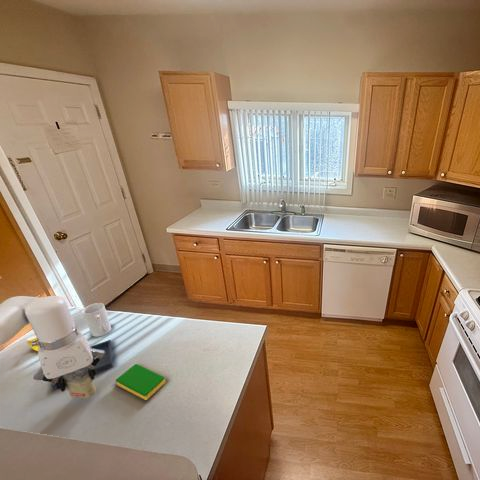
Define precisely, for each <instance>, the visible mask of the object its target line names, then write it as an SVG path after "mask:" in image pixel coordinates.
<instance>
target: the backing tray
mask: <svg viewBox="0 0 480 480" xmlns="http://www.w3.org/2000/svg"><path fill="white" fill-rule="evenodd" d="M90 346H91V348H93V349H98V350H103V351H105V355H104V356H103V357H102V358H101V359H100V361H99V362H98V363H97V364H96V366H95V368H96V370H97V374H99V373H101V372H103V371H106V370H108V369H111V368H113V366H114V362H113V343H112V340H111V339H108V340H105V341H103V342H99V343H97V344H94V345H90ZM92 356H93V359H94V358H95V357H96V355H92ZM82 369H85V372H88V368H87V367H84V368H81V369H78V370H82ZM62 376H63V377H64V375H62ZM51 387H52V389H53V391H55V390H58V389H57V387H56V385H55V384H53V383H52V382H51Z"/></svg>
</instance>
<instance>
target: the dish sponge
mask: <svg viewBox="0 0 480 480" xmlns="http://www.w3.org/2000/svg"><path fill="white" fill-rule="evenodd" d="M115 382H116V385H117V386H118V387H120V388H122V389H124V390H125V391H127V392H129V393H131V394H133V395H135V396H137V397H138V398H141V399H143V400H145V401H147V400H149V399H150V398H151V397H152V396H153V395H154V394H155V393H156V392H157V391H158V390H159V389H161V387H162V386H163V385H165V383H166V379H165V376H163V375H161V374H158V373H157V372H155V371H152V370H150V369H149V368H146V367H144V366H142V365H140V364H138V363H135V364H133V365H132V366H131V367H130V368H128V369H127V370H126V371H125V372H123V373H122V374H121V375H119V376H118V377H117V378H115Z"/></svg>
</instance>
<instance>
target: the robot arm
mask: <svg viewBox="0 0 480 480" xmlns="http://www.w3.org/2000/svg"><path fill="white" fill-rule="evenodd" d="M27 325H30V327H31V329H32V331H33V333H34V335H36V337H37V340H35V341H33V342H31V345H32V347H33V346H40V347H39V349H38V351H37V354H38V359H39V363H40V368H39V369H38V370H37V371H36V372H35V373H34V375H33V378H32V379H33V380H34V381H43V382H48V383H51V384H52V383H53V384H55V385H56V387H57V389H56V390H60V392H61V393H62V392H65V391H66V389H67V387H66V385H65V382H64V379H63V376H62V375H65V374H67V373H70V372H73V371H76V370H78V369H81V368H84V367H87V368H88V373H89V375H90V377H91V379H92V381H93V380H95V375H97V374H98V373H97V370H96V368H95V366H96V364H97V363H98V362H99V361H100V359H101V358H102V357H103V356H104V355H105V351H103V350H98V349H93V348H91V346H92V345H90V343H89V341H88V339H87V338H86V336H85V335H84V334H83V333H82V332H81V331H78V329H77V326H76V323H75V321H74V319H73V316H72V314H71V311H70V309H69V305H68V304H67V302H66V299H65V298H64V297H63V296H60V295H48V296H45V297H42V296H41V297H39V296H38V297H37V296H29V295H16V296H12V297H9V298H6V299H5V300H4V301H2V302H1V303H0V346H2V345H4V344H6V343H8V342H9V341H11V340H12V339H13V338H14V337H15V336H16V335H17V334H18V333H19V332H21V330H23V329H24V327H26V326H27ZM92 355H96V357H95V358H94V359H93V356H92Z"/></svg>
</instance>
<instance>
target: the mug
mask: <svg viewBox="0 0 480 480" xmlns="http://www.w3.org/2000/svg"><path fill="white" fill-rule="evenodd" d="M81 313H82V316H83V318H84V320H85V322H86V325H87V327H88V329H89V331H90V334H91V335H92V337H94V338H99V337H102V336H105V335H107V334H108V333H110V332H111V330H112V326H111V322H110V319H109V316H108V312H107V309H106V306H105V304H104V303H103V302H96V303H91V304H89V305H86V306H85V307H84V308H83V309H82V310H81Z"/></svg>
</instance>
